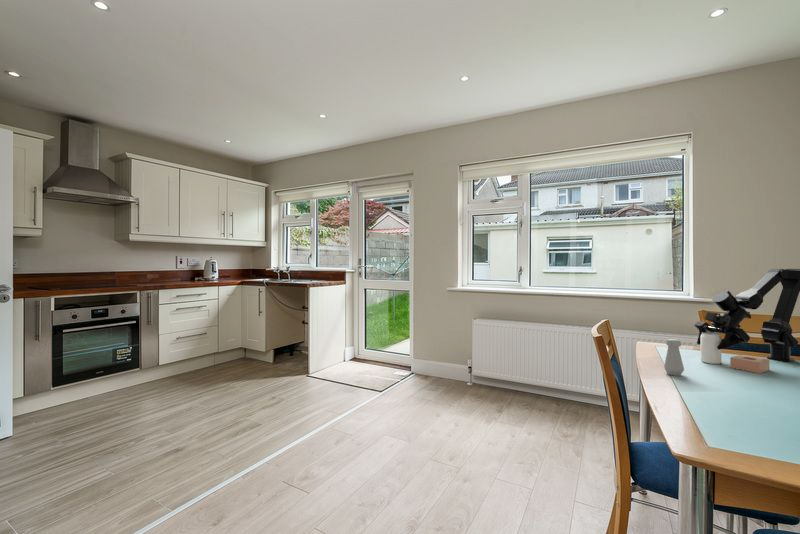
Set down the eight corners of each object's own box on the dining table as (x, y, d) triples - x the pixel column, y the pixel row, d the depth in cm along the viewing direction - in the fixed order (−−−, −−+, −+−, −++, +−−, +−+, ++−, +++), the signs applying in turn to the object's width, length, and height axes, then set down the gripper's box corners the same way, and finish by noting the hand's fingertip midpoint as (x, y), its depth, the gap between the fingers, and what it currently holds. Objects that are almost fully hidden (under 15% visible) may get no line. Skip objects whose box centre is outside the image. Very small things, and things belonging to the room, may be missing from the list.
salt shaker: (688, 376, 128) (687, 341, 128) (672, 377, 128) (671, 341, 128) (675, 371, 134) (675, 337, 134) (660, 372, 134) (660, 337, 134)
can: (705, 363, 144) (705, 334, 143) (697, 359, 150) (697, 331, 150) (725, 364, 142) (724, 335, 142) (716, 360, 148) (715, 332, 148)
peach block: (740, 364, 142) (740, 354, 142) (769, 370, 134) (769, 359, 134) (730, 367, 138) (730, 357, 138) (759, 373, 130) (759, 362, 130)
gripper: (698, 303, 155) (675, 328, 154) (742, 308, 137) (717, 337, 136) (714, 320, 156) (691, 346, 155) (761, 327, 137) (736, 357, 136)
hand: (707, 346), depth 146 cm, fingers open, 8 cm apart
